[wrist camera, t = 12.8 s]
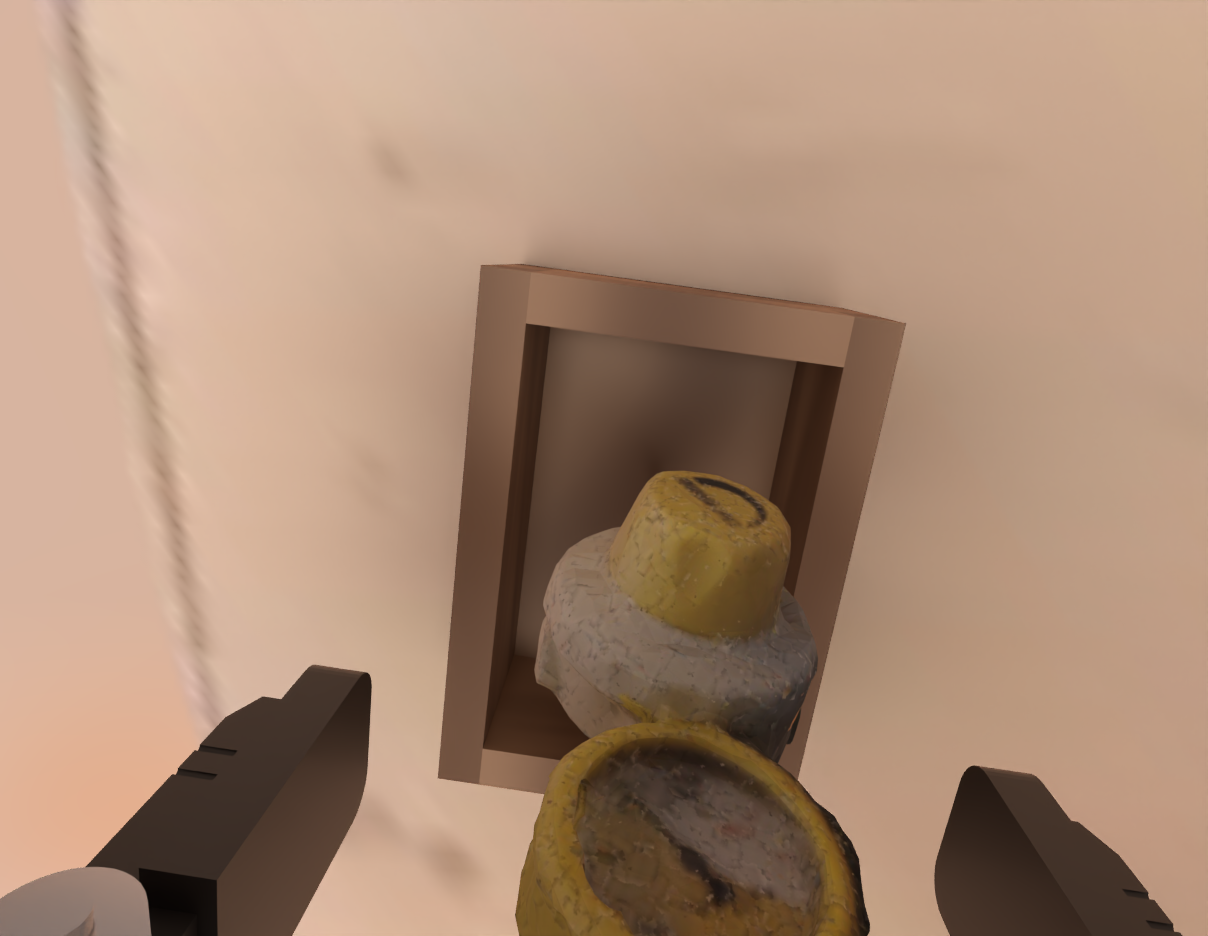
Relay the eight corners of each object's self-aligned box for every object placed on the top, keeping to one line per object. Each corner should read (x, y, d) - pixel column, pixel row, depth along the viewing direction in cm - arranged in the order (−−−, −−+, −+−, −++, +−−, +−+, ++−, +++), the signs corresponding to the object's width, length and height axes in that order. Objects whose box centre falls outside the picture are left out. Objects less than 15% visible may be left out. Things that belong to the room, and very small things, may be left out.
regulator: (612, 357, 20) (512, 641, 5) (759, 394, 20) (1073, 778, 5) (550, 611, 22) (355, 1324, 7) (683, 644, 22) (756, 1419, 7)
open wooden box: (841, 307, 19) (905, 323, 15) (756, 709, 23) (785, 830, 18) (521, 264, 20) (480, 265, 15) (481, 669, 23) (437, 778, 18)
